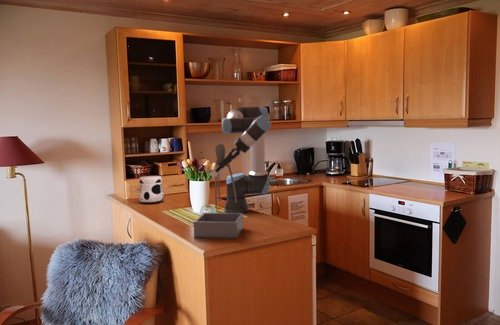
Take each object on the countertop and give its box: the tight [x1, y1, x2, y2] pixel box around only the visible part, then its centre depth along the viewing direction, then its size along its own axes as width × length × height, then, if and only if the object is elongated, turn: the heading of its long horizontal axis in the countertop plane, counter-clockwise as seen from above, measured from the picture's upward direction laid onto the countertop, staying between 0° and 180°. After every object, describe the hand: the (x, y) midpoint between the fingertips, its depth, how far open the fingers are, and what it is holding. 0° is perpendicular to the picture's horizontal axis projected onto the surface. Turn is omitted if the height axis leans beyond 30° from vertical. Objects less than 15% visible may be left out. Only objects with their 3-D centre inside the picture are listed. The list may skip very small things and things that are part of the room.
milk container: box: [138, 175, 165, 204], centre depth 296 cm, size 17×17×18 cm
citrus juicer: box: [214, 143, 237, 207], centre depth 207 cm, size 11×10×30 cm
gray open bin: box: [193, 212, 244, 240], centre depth 211 cm, size 20×21×8 cm
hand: (213, 174), depth 209 cm, fingers closed on citrus juicer, 9 cm apart
